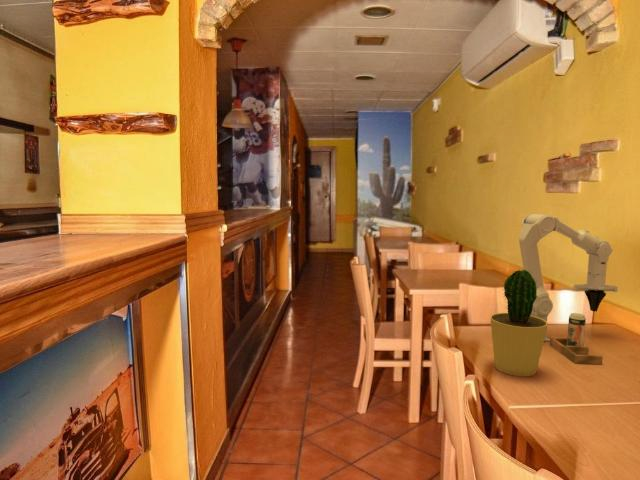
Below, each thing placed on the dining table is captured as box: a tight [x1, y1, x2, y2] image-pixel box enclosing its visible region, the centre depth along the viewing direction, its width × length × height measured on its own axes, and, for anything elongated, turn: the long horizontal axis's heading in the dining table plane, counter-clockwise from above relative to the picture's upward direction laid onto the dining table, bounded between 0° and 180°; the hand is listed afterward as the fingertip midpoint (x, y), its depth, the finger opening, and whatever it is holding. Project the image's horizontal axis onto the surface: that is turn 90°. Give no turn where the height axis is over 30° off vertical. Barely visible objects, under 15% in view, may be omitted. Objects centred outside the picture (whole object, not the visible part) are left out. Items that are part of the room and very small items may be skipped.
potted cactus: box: [489, 268, 549, 377], centre depth 134 cm, size 15×15×30 cm
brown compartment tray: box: [549, 337, 604, 365], centre depth 149 cm, size 8×17×2 cm, turn 178°
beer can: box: [567, 312, 587, 346], centre depth 152 cm, size 5×5×12 cm
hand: (593, 310), depth 167 cm, fingers closed
